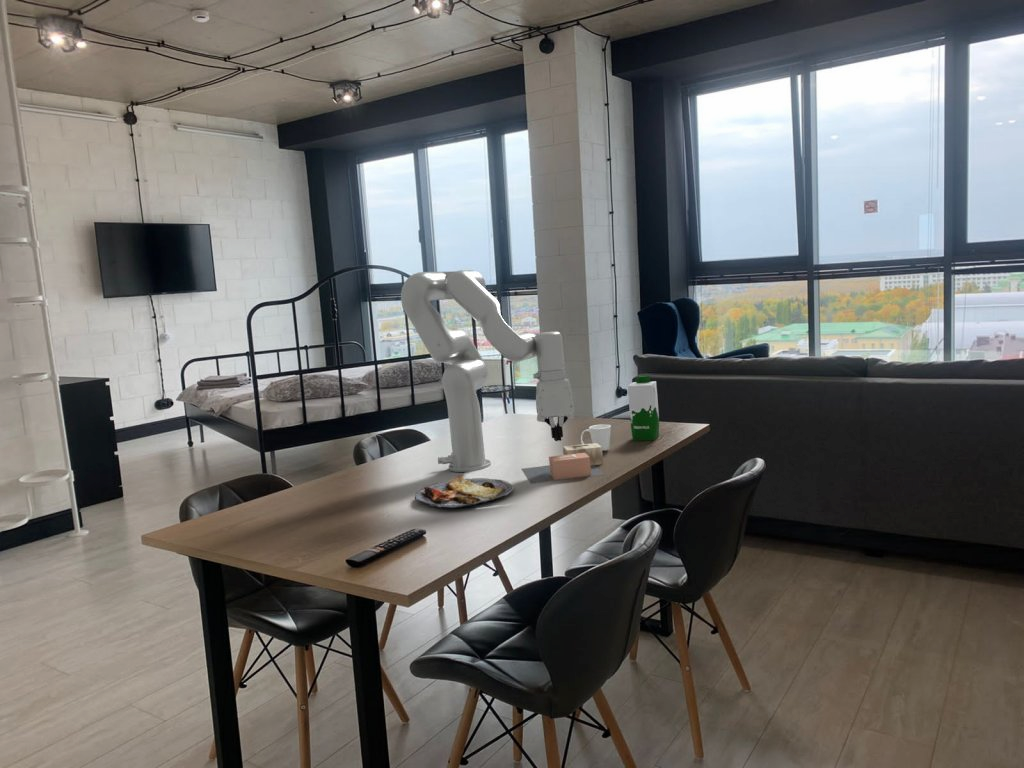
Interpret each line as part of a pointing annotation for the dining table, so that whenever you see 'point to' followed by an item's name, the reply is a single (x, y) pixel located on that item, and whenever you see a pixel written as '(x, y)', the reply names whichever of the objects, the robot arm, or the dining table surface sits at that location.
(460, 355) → the robot arm
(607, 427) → the cup
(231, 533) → the dining table surface
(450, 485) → the food plate
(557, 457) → the terracotta block
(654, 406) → the milk carton
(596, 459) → the beech block
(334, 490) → the dining table surface
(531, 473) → the rubber mat
